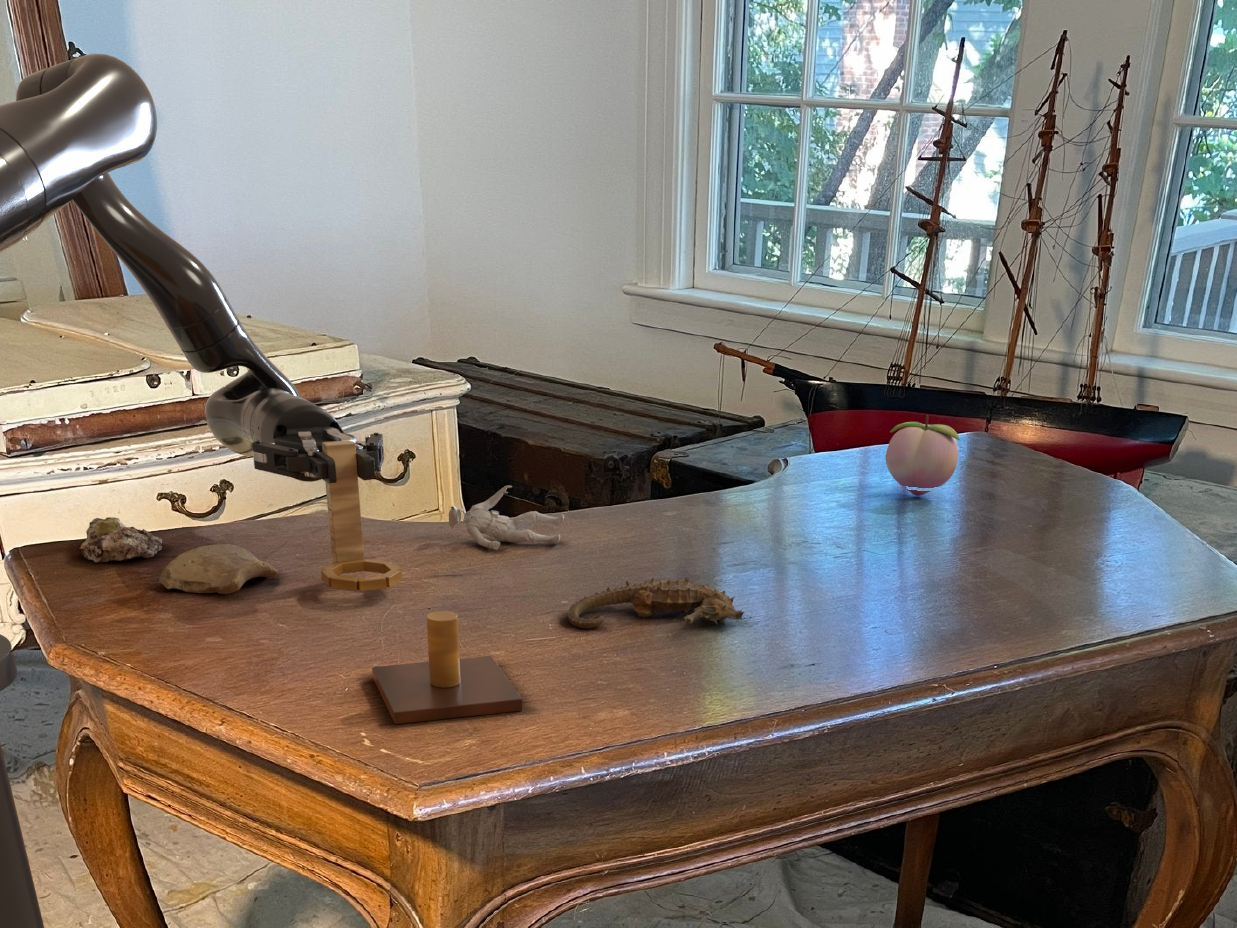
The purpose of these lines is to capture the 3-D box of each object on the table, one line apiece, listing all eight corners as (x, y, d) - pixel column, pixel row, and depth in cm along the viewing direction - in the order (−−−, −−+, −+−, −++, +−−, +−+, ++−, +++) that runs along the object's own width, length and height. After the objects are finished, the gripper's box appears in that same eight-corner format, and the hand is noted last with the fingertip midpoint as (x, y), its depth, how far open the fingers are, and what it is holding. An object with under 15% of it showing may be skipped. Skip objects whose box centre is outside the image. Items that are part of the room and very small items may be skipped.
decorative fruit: (960, 493, 170) (972, 414, 165) (946, 506, 163) (957, 424, 158) (890, 484, 173) (900, 406, 168) (873, 497, 166) (883, 416, 161)
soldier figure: (555, 562, 140) (447, 528, 137) (544, 582, 144) (439, 549, 141) (568, 500, 142) (462, 465, 139) (557, 521, 147) (453, 487, 143)
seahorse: (576, 597, 126) (576, 566, 125) (742, 605, 126) (744, 574, 124) (564, 629, 118) (564, 596, 117) (742, 638, 118) (744, 605, 116)
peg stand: (394, 724, 98) (388, 642, 95) (372, 678, 106) (366, 601, 103) (522, 710, 101) (521, 631, 98) (491, 666, 109) (489, 591, 106)
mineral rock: (178, 534, 133) (96, 523, 127) (173, 577, 134) (92, 567, 129) (143, 515, 140) (65, 503, 135) (138, 555, 141) (61, 545, 136)
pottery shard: (156, 603, 125) (226, 596, 120) (144, 557, 124) (213, 548, 118) (241, 582, 134) (309, 575, 128) (230, 539, 132) (299, 530, 127)
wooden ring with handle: (410, 586, 124) (402, 457, 118) (336, 594, 121) (324, 462, 115) (381, 562, 130) (372, 438, 124) (310, 569, 127) (298, 443, 121)
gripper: (222, 401, 129) (271, 434, 116) (358, 394, 135) (419, 424, 122) (232, 478, 133) (280, 518, 120) (364, 468, 139) (423, 504, 126)
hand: (350, 470), depth 121 cm, fingers closed on wooden ring with handle, 3 cm apart
